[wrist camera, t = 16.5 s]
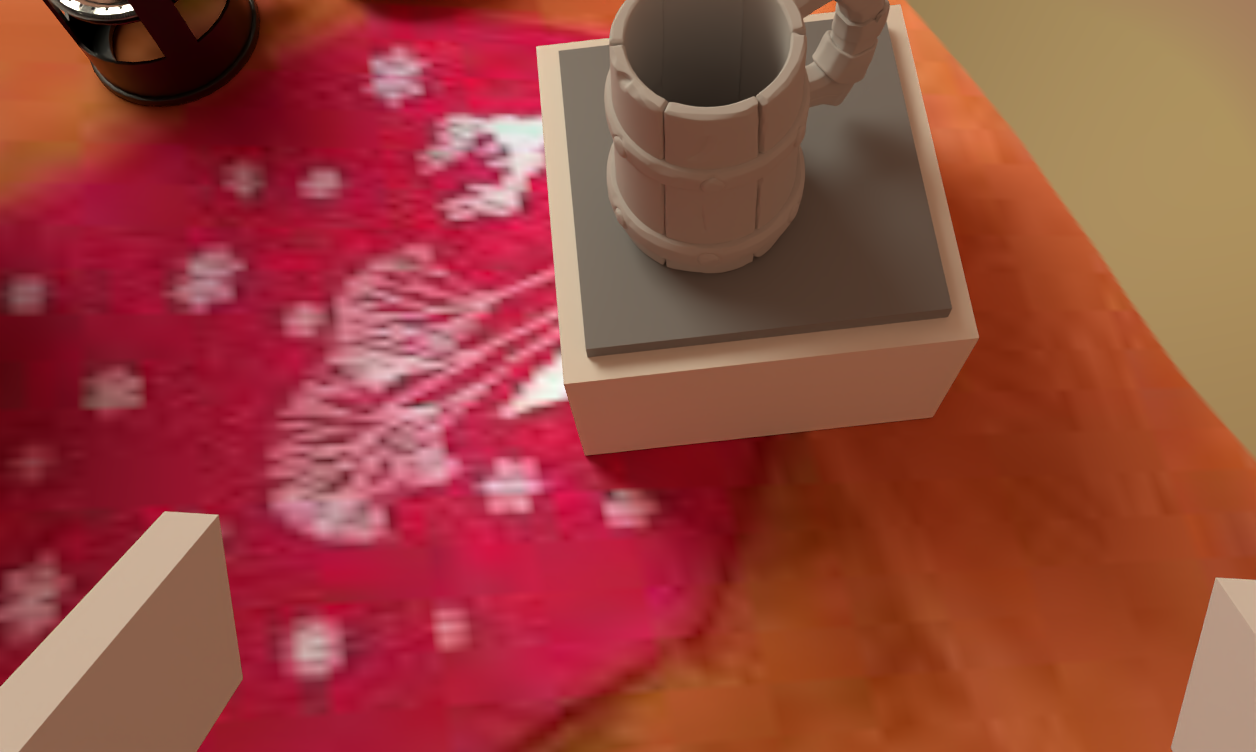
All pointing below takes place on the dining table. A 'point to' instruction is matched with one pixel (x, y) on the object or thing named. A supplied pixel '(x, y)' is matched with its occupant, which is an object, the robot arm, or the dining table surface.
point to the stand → (761, 276)
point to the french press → (162, 47)
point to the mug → (721, 119)
